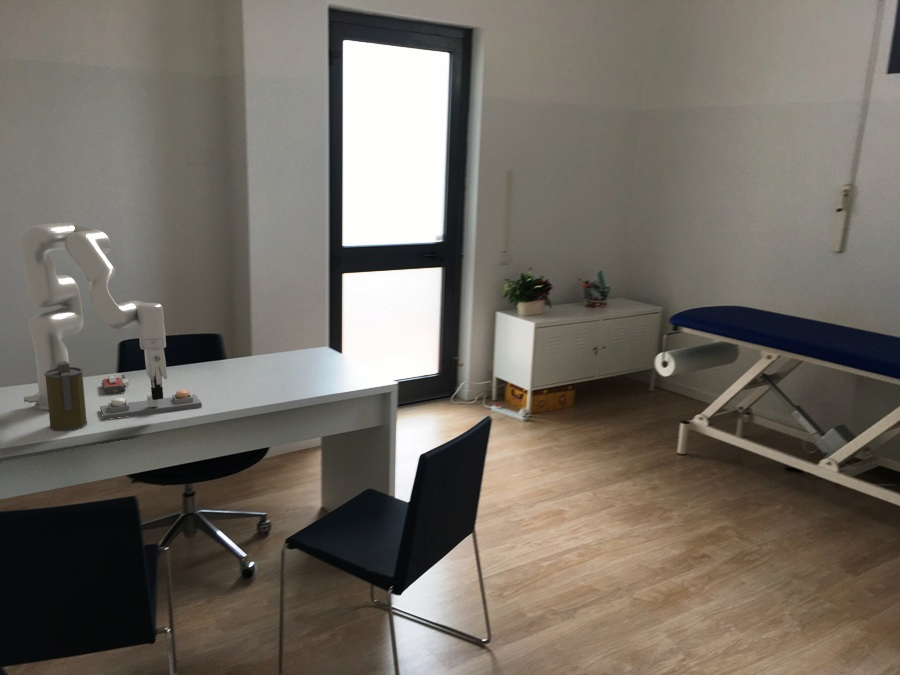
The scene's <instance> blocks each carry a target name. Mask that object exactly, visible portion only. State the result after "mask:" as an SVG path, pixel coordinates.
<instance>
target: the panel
mask: <svg viewBox="0 0 900 675" xmlns="http://www.w3.org/2000/svg"><path fill="white" fill-rule="evenodd" d="M202 404H203V403H202V401H201V400H200V399H199V398H198V396H197V395H196V394H195V393H194V394H191V392H189V397H188V398H181V399H178V398H176V394H172V396H171V397H163V399H158V406H156V407H148V404H147V399H146V400H140V401H139V400H138V401H133V402H131V401H130V402H128V401H127V400H125V405H124V406H118V407H112V403H111V402H107V405H100V406H99V407H100V410H101V411H100V413H101V415H103V416H102V418H104V419H108V420H111V419H110V418H115V419H119V418H118V417H123V418H127V417H126V416H130V417H136V416H135V415H138V416H142V415H143V414H145V415H151V414H150V413H153V414H157V413H158V414H160V413H166V412H172V411H173V410H175V411H180V409H182V410H188V408H190V409H194V408H195V409H197V408H202V406H203V405H202ZM196 407H197V408H196ZM159 412H160V413H159ZM173 412H174V411H173ZM104 419H103V420H104Z"/></svg>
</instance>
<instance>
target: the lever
mask: <svg viewBox="0 0 900 675" xmlns="http://www.w3.org/2000/svg"><path fill="white" fill-rule="evenodd" d="M146 398H147V399H146V400H147V404H148V407H156V406H158V400H153V399H152V394H147V395H146Z"/></svg>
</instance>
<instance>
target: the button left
mask: <svg viewBox="0 0 900 675" xmlns="http://www.w3.org/2000/svg"><path fill="white" fill-rule="evenodd" d="M125 401H126V399H125V398H124V397H116V398H112V399H111V402H110V403H112V407H118V406H124V405H125Z"/></svg>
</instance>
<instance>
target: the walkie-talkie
mask: <svg viewBox="0 0 900 675" xmlns="http://www.w3.org/2000/svg"><path fill="white" fill-rule="evenodd" d="M129 384H130V383H129V378H126V376H125V374H122V375H121V377H116V375H108V377H107V378H104V379H102V380H101V387H102V390H103V394H104V395H106V394H108V395H114V394H113V393H117V394H122V393H121V392H124V393H125V392H126V387H127V388H129V387H128V386H130V385H129Z"/></svg>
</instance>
